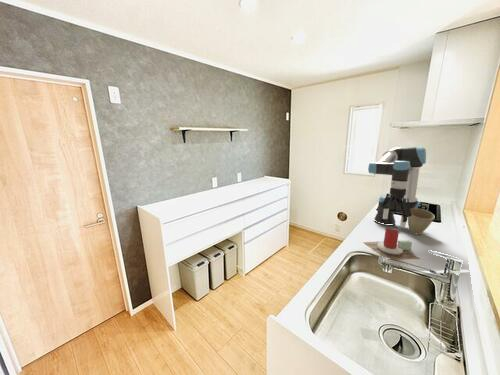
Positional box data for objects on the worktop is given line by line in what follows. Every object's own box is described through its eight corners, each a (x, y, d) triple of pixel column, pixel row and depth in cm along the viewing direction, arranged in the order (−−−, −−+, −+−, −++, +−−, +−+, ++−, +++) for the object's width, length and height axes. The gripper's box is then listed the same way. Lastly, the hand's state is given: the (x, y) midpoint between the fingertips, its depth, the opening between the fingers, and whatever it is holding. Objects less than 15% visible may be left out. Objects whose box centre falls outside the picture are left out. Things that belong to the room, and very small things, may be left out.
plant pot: (404, 234, 151) (410, 216, 144) (402, 224, 163) (407, 206, 156) (430, 239, 144) (437, 220, 138) (425, 228, 156) (432, 210, 150)
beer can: (391, 244, 127) (393, 226, 125) (399, 249, 120) (402, 230, 118) (380, 244, 127) (383, 226, 125) (388, 249, 120) (391, 230, 118)
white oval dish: (387, 255, 117) (388, 247, 116) (372, 244, 130) (373, 237, 129) (418, 254, 118) (420, 246, 118) (400, 244, 131) (402, 236, 130)
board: (362, 243, 134) (363, 233, 133) (391, 243, 136) (392, 233, 134) (386, 261, 113) (388, 249, 111) (420, 260, 114) (422, 248, 113)
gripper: (377, 184, 129) (373, 215, 133) (410, 192, 104) (404, 231, 108) (388, 183, 129) (384, 215, 133) (424, 192, 105) (417, 230, 109)
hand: (393, 222), depth 121 cm, fingers open, 13 cm apart
